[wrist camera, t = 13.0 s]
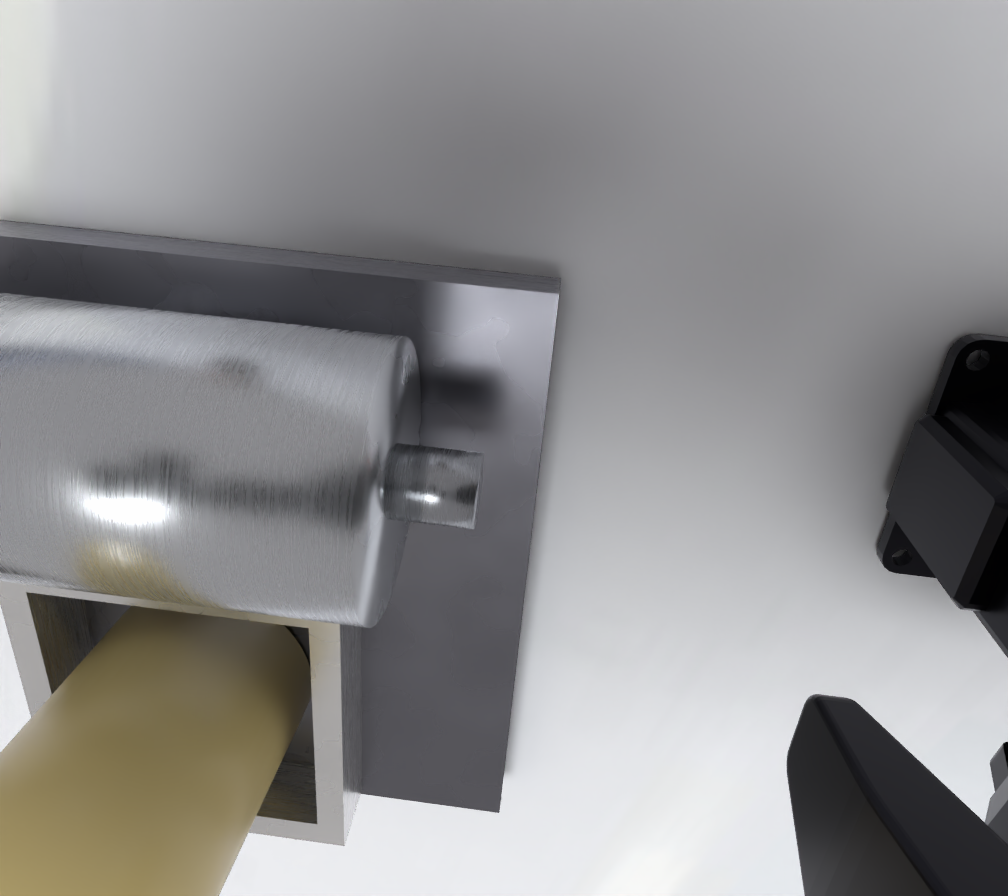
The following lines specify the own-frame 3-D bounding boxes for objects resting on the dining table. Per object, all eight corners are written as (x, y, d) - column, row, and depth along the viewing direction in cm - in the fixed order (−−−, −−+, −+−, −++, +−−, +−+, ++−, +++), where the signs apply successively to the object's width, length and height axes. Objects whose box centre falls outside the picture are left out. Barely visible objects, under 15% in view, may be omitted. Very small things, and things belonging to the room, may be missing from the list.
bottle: (339, 640, 21) (-29, 1432, 9) (278, 765, 24) (-71, 1509, 12) (140, 551, 21) (-551, 1266, 8) (100, 690, 23) (-469, 1389, 11)
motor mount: (560, 278, 18) (548, 395, 11) (503, 774, 25) (475, 1021, 19) (-2, 220, 19) (-331, 298, 12) (105, 720, 26) (-60, 940, 19)
